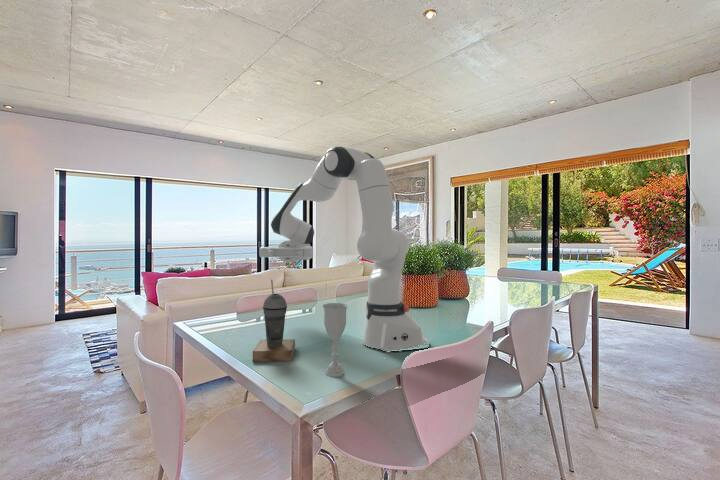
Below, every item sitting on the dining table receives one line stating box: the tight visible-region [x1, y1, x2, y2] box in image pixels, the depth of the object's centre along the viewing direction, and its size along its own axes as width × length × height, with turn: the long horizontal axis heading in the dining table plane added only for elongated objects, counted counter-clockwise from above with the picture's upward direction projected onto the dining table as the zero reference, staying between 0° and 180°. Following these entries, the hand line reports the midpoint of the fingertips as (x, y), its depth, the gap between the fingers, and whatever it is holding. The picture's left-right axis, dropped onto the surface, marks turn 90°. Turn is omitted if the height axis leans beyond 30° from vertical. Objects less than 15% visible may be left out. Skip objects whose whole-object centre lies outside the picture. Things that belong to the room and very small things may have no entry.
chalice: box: [322, 302, 349, 378], centre depth 92 cm, size 7×7×18 cm
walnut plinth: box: [252, 338, 296, 362], centre depth 105 cm, size 11×11×3 cm
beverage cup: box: [262, 279, 288, 347], centre depth 105 cm, size 7×7×20 cm
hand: (284, 253), depth 125 cm, fingers open, 8 cm apart
